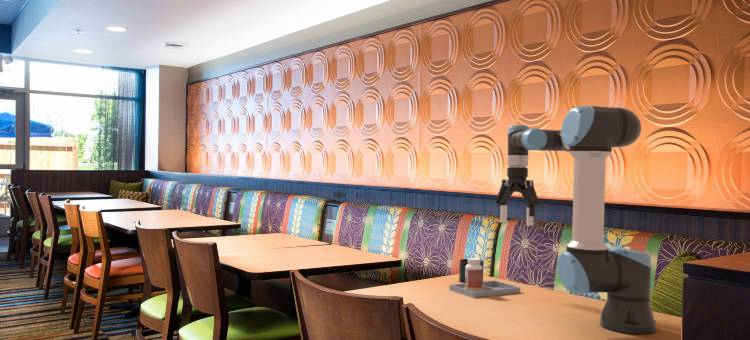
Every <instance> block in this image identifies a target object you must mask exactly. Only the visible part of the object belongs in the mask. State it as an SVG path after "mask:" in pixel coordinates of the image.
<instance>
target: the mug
mask: <svg viewBox="0 0 750 340" xmlns="http://www.w3.org/2000/svg"><path fill="white" fill-rule="evenodd" d="M467 264H468V258H462V259H459V267H458V270H459V274H458V275H459V277H458V279H459V281H458V282H459V283H460V284H464V283H465V267H466V265H467ZM480 265H481V266H482V282H484V260H482V259H481V262H480Z"/></svg>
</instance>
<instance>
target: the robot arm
mask: <svg viewBox="0 0 750 340" xmlns="http://www.w3.org/2000/svg"><path fill="white" fill-rule="evenodd" d="M641 133H642V123H641V120H640V118H639V117H638V116H637V114H636V113H634V112H633V111H631V110H630V109H627V108H623V107H612V106H611V107H610V106H609V107H608V106H596V105H578V106H575V107H572V108H571V109H570V110H569V111H568V112H567V113H566V115H565V116H564V119H563V122H562V124H561V129H560V130H559V129H558V130H557V129H556V130H555V129H541V128H538V127H537V128H534V127H532V128H529V126H528V125H525V124H522V125H521V124H515V125H512V124H511V125H509V126H508V131H507V163H506V164H507V165H506V166H507V169H506V176H507V178H508V179H502V180H501V186H500V189H499V191H498V193H497V197H496V199H495V203H496V204H498V205H499V214H500V217H499V219H500V220H499V222H500V223H507V222H508V205H507V203H508V202H509V200H510V198H511V196H512V195H513V193H515V192H516V193H519V194H521V196H522V198H523V199H524V201H525V202H526V204H527V207H526V226H527V227H528V226H530V227H531V226H534V219H535V218H534V217H535V214H536V207H540V201H539V198H538V195H537V193H536V190H535V187H534V180H532V179H531V180H530V179H528V180H527V178H528V177H529V169H528V166H529V151H540V152H541V151H543V152H547V151H548V152H552V151H554V152H567V153H569V154H570V155H571V156H572V157H573V158H574V160H573V165H574V166H573V189H572V190H573V191H572V192H573V195H572V196H573V198H572V199H573V200H572V223H571V224H572V231H571V240H570V241H569V242H567V244H566V246H565V248H566V251H564V252H562V253H561V254H559V257H558V260H557V272H558V277H559V279H560V281H561V283H562V285H563V286H564V288H565V289H566V290H567V291H569V292H571V293H574V294H575V293H578V294H594V293H595V294H597V293H598V294H599V293H607V295H606V296H607V297H606V298H607V299H606V301H605V303H604V307H603V309H602V312H601V314H600V317H599V319H600V321H599V324H600V326H601V327H603V328H604V329H608V330H611V331H614V332H619V333H624V334H633V335H648V334H653V333H655V332H656V331H657V328H656V327H657V323H656V320H655V317H654V316H655V315H654V313H653V309H652V306H651V278H652V277H651V275H652V274H651V273H652V272H651V271H652V263H651V262H652V261H651V260H652V259H651V255H649V254H648V253H646V252H645V251H640V250H636V249H635V250H634V249H629V248H623V247H617V246H608V245H607V244H606V242H605V241H604V234H605V233H604V231H605V230H604V229H605V228H604V227H605V226H604V225H605V202H606V201H605V197H606V196H605V190H606V166H607V165H606V161H607V158H608V157H609V156H610V155H611V154H612V153H613V152H612V148H623V147H628V146H630V145H633V143H636V141H637V140H638V139H639V138H640V135H641Z"/></svg>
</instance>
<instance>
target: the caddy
mask: <svg viewBox="0 0 750 340" xmlns="http://www.w3.org/2000/svg"><path fill="white" fill-rule="evenodd" d="M463 288H465V283H455V284H449V288H448V289H449V291H451V292H454V293H457V294H460V295H463V296H466V297H469V298H473V299H475V298H483V297H484V298H485V297H493V296H501V295H510V294H519V293H521V287H520V286H516V285H514V284H509V283H505V282H501V281H499V280H487V281H483V282H482V289H484V291H477V292H473V291H470V290H466V289H463Z"/></svg>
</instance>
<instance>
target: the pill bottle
mask: <svg viewBox="0 0 750 340" xmlns="http://www.w3.org/2000/svg"><path fill="white" fill-rule="evenodd" d="M467 259H468V264H467V265H466V267H465V288H466V289H468V290H481V289H482V266H481V265H480V262H481V260H482V259H481V258H479V257H478V258H477V257H468V258H467Z"/></svg>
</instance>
